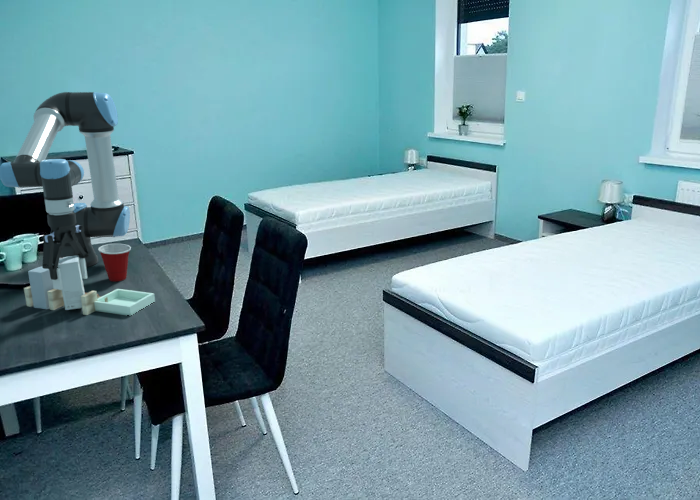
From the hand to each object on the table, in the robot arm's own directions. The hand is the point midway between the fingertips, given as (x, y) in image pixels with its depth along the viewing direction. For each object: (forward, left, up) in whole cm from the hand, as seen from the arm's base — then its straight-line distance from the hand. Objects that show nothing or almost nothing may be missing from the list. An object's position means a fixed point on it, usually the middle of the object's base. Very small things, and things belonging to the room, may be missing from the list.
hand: (71, 283), depth 171 cm
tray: (-7, +13, -9) cm, 17 cm away
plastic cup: (-28, -6, -9) cm, 30 cm away
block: (0, -11, -9) cm, 14 cm away
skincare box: (0, 0, -7) cm, 7 cm away
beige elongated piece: (-2, -4, -9) cm, 10 cm away
